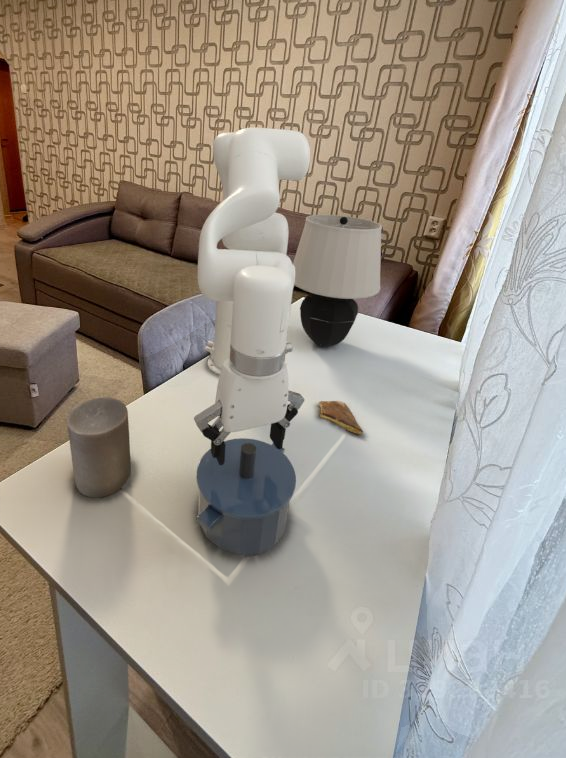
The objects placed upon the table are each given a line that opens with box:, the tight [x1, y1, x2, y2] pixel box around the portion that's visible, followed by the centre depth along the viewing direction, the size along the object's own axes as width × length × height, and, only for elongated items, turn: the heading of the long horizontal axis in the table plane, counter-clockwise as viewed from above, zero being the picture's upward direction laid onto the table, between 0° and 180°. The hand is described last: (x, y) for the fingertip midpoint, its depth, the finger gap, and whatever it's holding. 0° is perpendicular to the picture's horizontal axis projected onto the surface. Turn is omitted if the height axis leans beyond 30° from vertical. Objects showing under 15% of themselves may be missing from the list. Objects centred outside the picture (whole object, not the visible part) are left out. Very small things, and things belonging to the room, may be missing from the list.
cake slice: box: [318, 400, 364, 436], centre depth 89 cm, size 11×8×2 cm
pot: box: [196, 442, 291, 557], centre depth 64 cm, size 15×20×8 cm
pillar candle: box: [66, 397, 132, 498], centre depth 68 cm, size 10×10×15 cm
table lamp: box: [292, 214, 383, 348], centre depth 118 cm, size 27×27×40 cm
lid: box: [195, 437, 297, 519], centre depth 62 cm, size 16×16×6 cm
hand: (247, 450), depth 61 cm, fingers open, 9 cm apart
